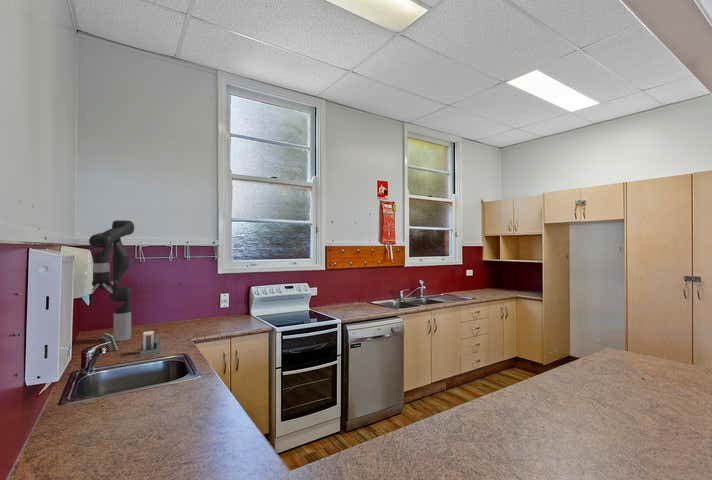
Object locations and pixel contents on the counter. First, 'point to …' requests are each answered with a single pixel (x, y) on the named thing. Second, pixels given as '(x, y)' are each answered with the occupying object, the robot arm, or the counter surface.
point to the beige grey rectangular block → (148, 340)
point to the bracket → (151, 351)
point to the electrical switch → (108, 338)
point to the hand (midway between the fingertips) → (101, 300)
